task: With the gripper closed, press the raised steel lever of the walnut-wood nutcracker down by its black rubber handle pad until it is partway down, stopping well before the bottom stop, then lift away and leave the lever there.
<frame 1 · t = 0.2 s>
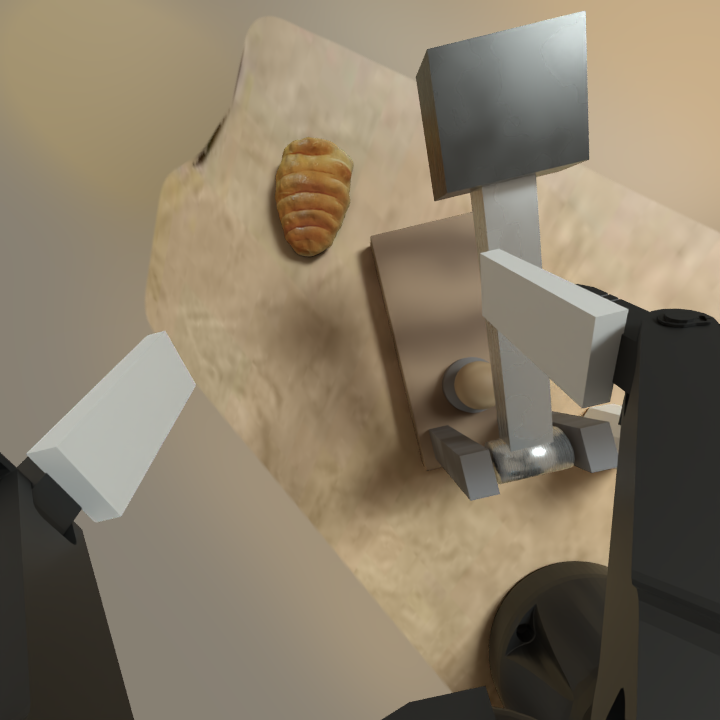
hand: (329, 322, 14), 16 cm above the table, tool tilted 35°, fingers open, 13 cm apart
lever: (513, 299, 17), point 13 cm above the table, hinge at -20.0°
pepper shaker: (604, 433, 30), on the table
nutcracker base: (451, 339, 30), on the table
pastry: (317, 203, 32), on the table
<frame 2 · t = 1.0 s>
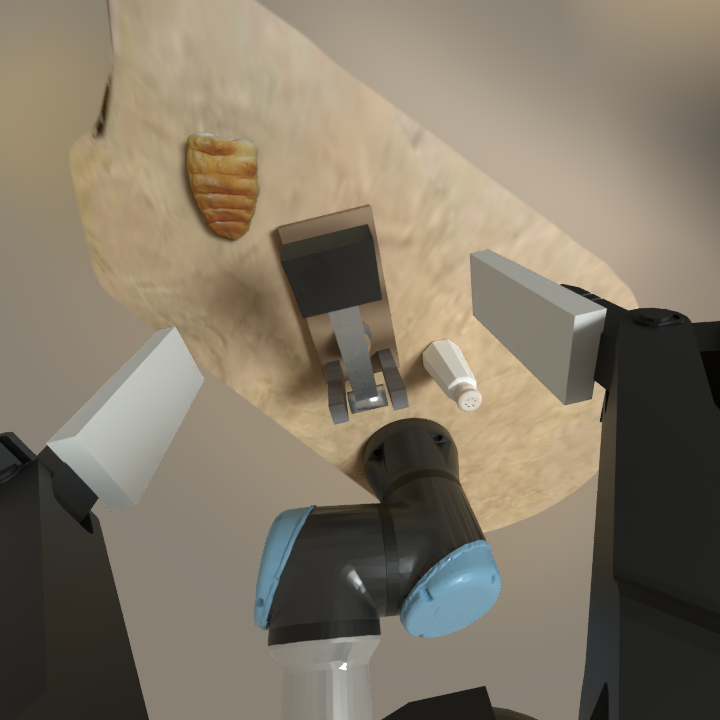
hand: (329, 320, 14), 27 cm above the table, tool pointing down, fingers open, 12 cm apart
lever: (352, 344, 30), point 13 cm above the table, hinge at -20.0°
pepper shaker: (439, 355, 47), on the table
nutcracker base: (345, 300, 42), on the table
pastry: (230, 181, 35), on the table
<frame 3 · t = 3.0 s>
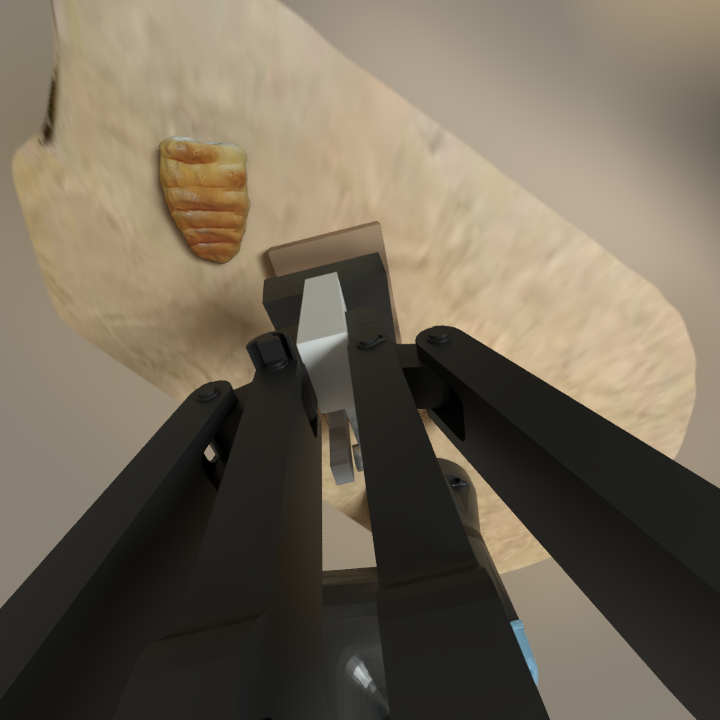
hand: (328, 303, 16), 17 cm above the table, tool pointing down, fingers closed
lever: (359, 395, 24), point 13 cm above the table, hinge at -17.2°, touching gripper
nutcracker base: (349, 331, 36), on the table
pastry: (215, 194, 29), on the table
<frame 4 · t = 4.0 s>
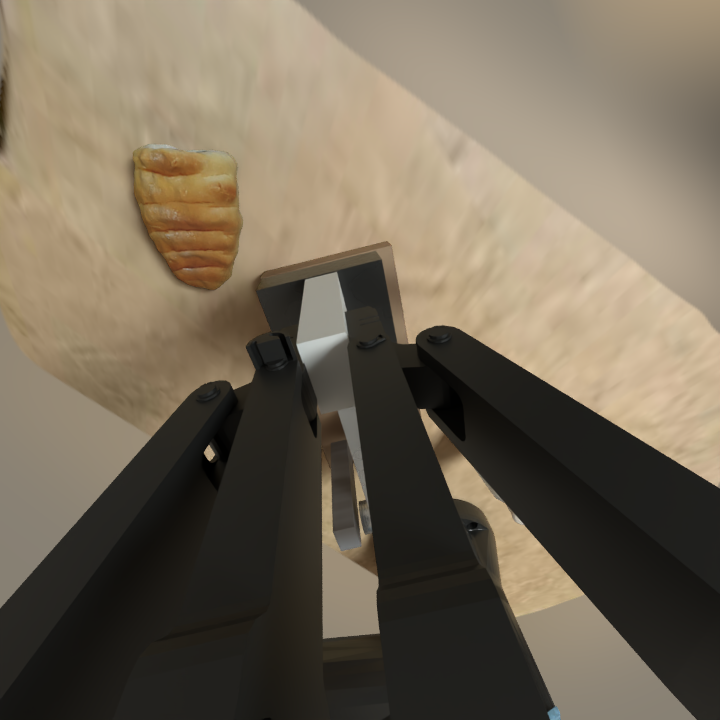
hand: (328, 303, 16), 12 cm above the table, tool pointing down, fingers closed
lever: (362, 424, 22), point 10 cm above the table, hinge at -1.0°, touching gripper
nutcracker base: (354, 364, 32), on the table
pastry: (202, 210, 25), on the table
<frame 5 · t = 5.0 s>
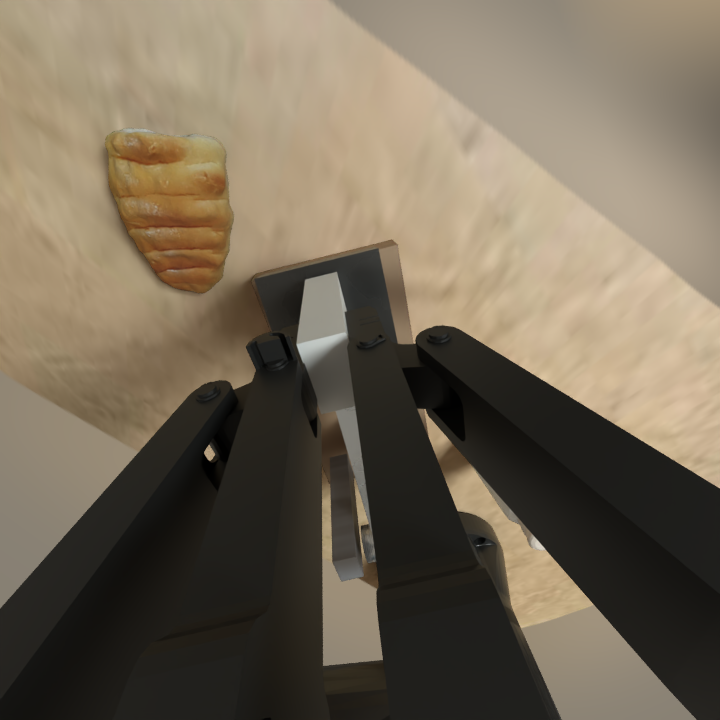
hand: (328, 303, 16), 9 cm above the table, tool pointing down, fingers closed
lever: (363, 432, 21), point 9 cm above the table, hinge at 8.2°, touching gripper
pepper shaker: (484, 436, 34), on the table
nutcracker base: (355, 373, 29), on the table
pastry: (188, 204, 22), on the table
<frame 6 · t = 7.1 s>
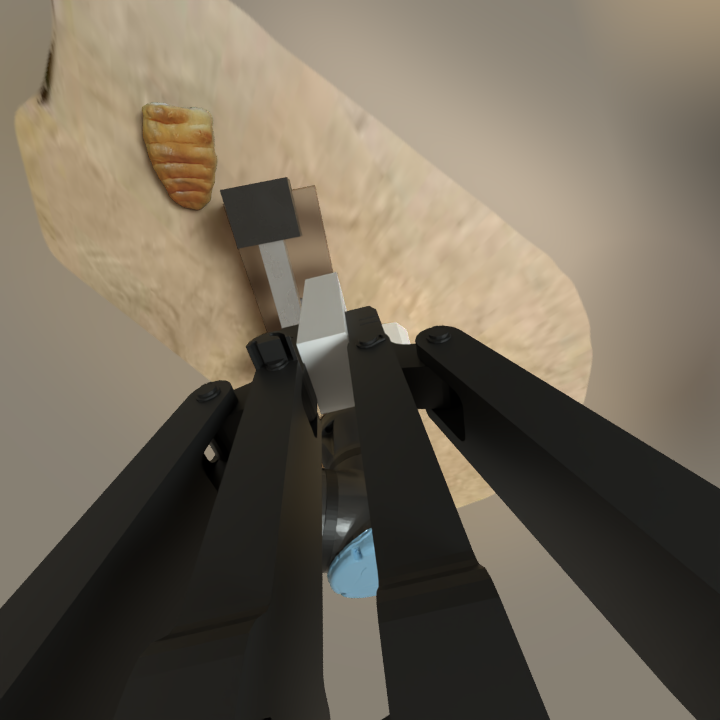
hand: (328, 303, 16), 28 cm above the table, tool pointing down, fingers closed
lever: (285, 295, 35), point 9 cm above the table, hinge at 8.2°
pepper shaker: (389, 337, 49), on the table
nutcracker base: (294, 279, 43), on the table
pastry: (189, 151, 36), on the table
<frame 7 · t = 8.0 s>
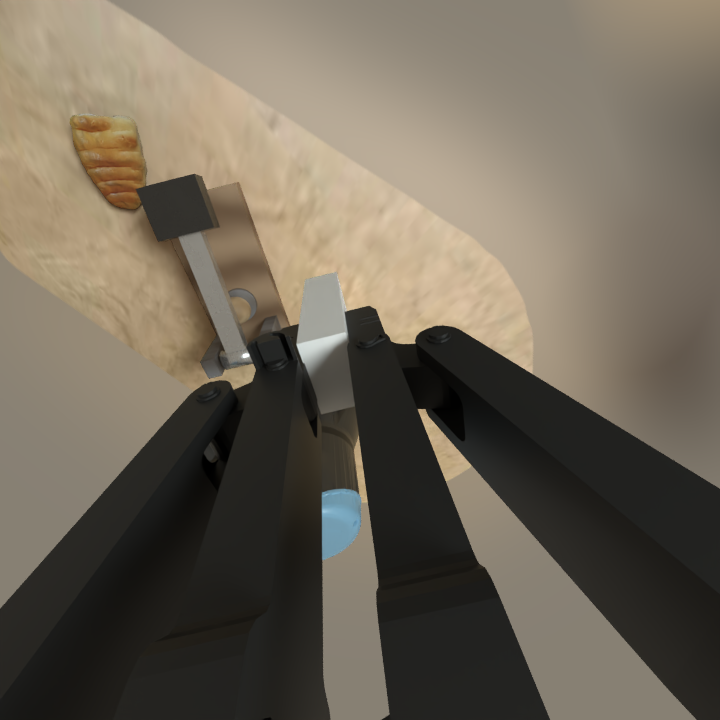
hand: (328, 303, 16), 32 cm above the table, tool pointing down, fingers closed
lever: (210, 283, 38), point 9 cm above the table, hinge at 8.2°
nutcracker base: (232, 271, 47), on the table
pastry: (121, 157, 39), on the table
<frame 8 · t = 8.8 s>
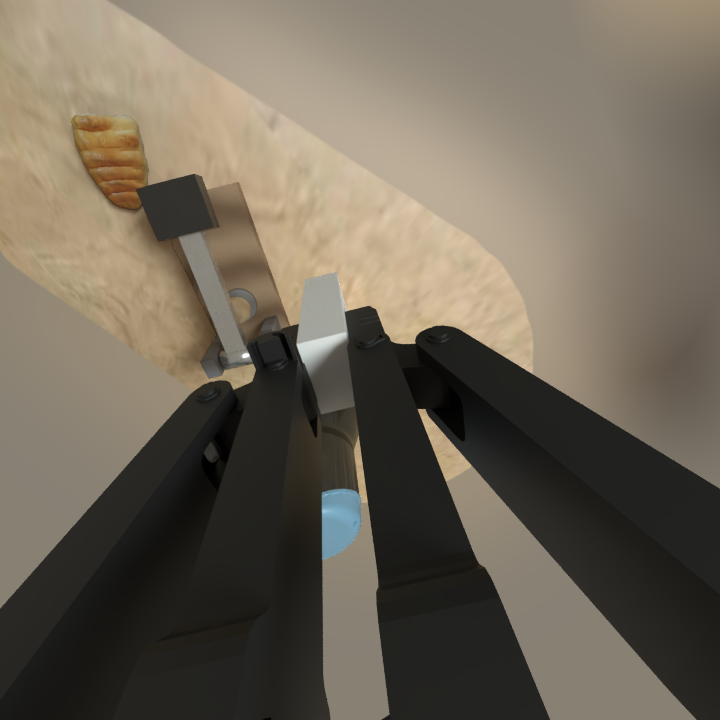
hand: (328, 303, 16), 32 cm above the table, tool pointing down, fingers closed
lever: (210, 283, 38), point 9 cm above the table, hinge at 8.2°
nutcracker base: (232, 271, 47), on the table
pastry: (123, 156, 39), on the table
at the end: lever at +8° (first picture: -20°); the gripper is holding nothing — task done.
